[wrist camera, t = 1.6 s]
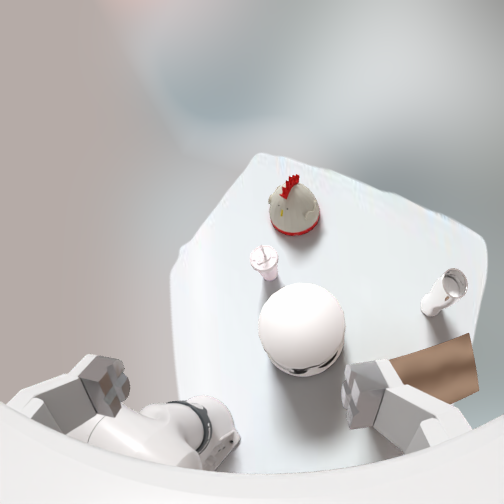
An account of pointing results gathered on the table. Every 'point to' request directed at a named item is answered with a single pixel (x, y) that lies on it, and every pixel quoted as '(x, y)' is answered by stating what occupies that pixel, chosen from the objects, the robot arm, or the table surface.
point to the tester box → (441, 370)
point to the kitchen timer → (293, 208)
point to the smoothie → (265, 261)
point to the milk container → (302, 329)
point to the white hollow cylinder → (444, 292)
